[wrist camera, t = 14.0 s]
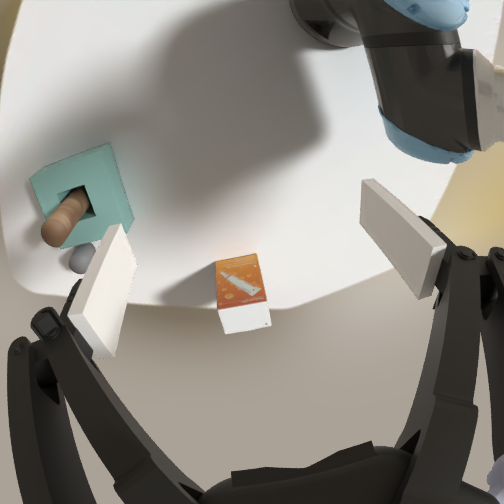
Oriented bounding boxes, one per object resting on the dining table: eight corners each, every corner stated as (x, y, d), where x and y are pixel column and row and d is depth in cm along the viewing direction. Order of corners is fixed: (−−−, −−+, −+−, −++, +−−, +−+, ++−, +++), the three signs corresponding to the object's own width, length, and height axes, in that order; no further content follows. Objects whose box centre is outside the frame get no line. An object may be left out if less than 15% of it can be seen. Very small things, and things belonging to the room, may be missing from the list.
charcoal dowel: (74, 243, 49) (65, 258, 45) (90, 239, 49) (82, 254, 45) (82, 259, 51) (74, 275, 47) (98, 256, 51) (91, 272, 47)
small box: (256, 252, 56) (268, 300, 45) (260, 277, 59) (272, 326, 49) (214, 260, 55) (216, 310, 45) (221, 285, 59) (225, 335, 49)
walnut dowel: (73, 184, 43) (36, 225, 31) (92, 178, 43) (57, 218, 31) (81, 204, 45) (48, 249, 34) (99, 199, 45) (69, 243, 34)
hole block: (43, 167, 40) (29, 178, 36) (110, 142, 40) (99, 151, 36) (70, 234, 48) (60, 249, 44) (134, 218, 48) (127, 233, 44)
